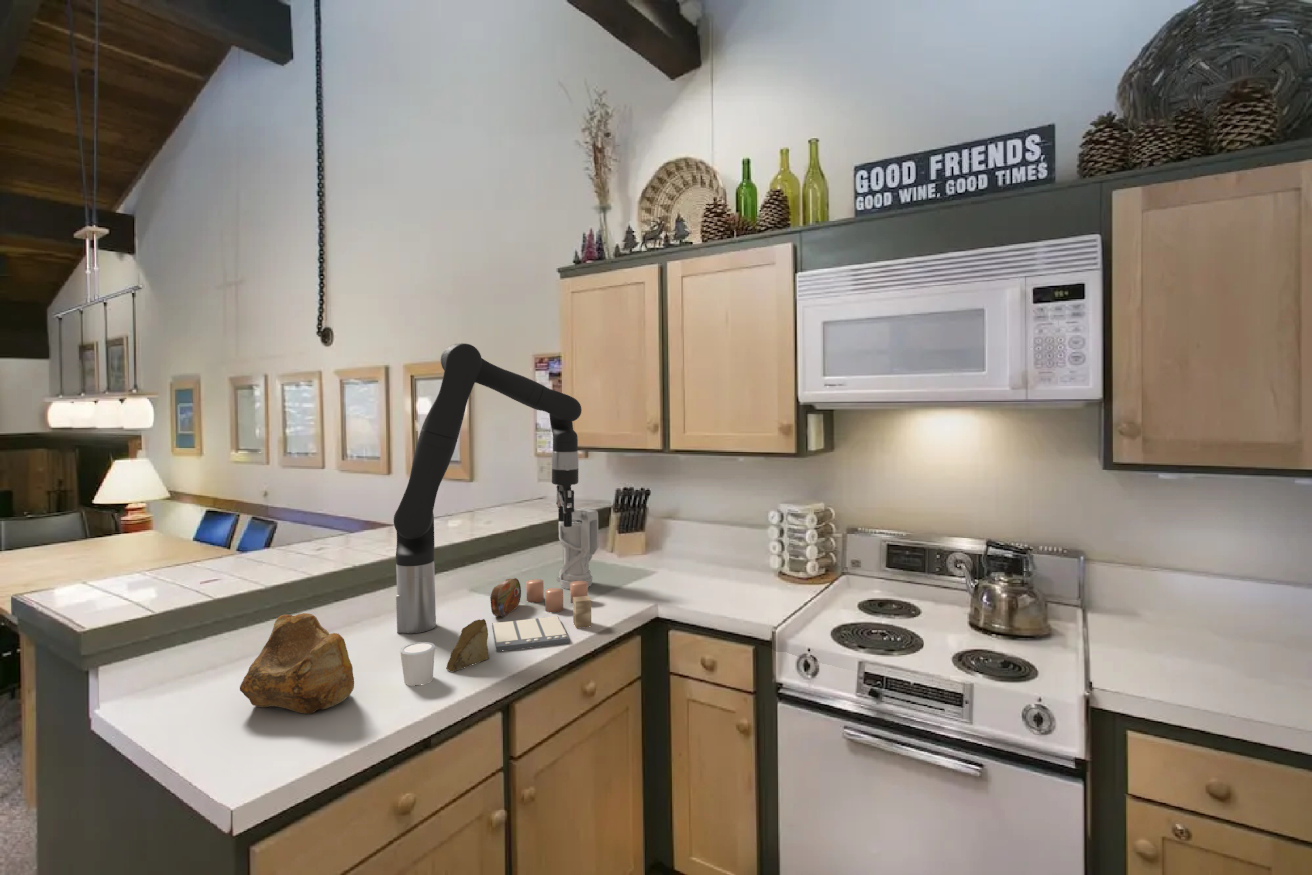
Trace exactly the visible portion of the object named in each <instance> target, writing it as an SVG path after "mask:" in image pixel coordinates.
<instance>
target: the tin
mask: <svg viewBox="0 0 1312 875" xmlns="http://www.w3.org/2000/svg"><path fill="white" fill-rule="evenodd" d="M521 596H522V586H521V583H520V581H519V579H518V578H517V577H513V578H507V579H505V580H503V581H502V582H500V583H499V584H497V585H495V586H494V587H493V589H492V591H491V593H490V609H491V614H492V615H493V616H495V617H503V618H504V617H507V616H508V615H509V614H510V613H512V612H513V611H515V609H517V608H518V607H519V605H520V602H521V598H522V597H521ZM516 607H517V608H516Z"/></svg>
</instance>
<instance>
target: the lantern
mask: <svg viewBox="0 0 1312 875" xmlns="http://www.w3.org/2000/svg"><path fill="white" fill-rule="evenodd" d="M599 538H600V537H599V512H598V508H597V507H593V508H592V507H582V508H574V512H573V513H572V526H571V527H565V526H564V521H563V522H560V521H559V520H558V539H559V543H560V546H562V567H561V568H560V569H559V574H558V575H559V576H558V577H556V581H557V582H558V583H560V588H561V589H564V588H565V590H570V583H571V582H574V581H586V582H587V583H588V588H590V587H592V583H593V575H591V570H590V569H589V566H590V565H589V564H590V562H591V560H592V559H593V555H595V554H596V552H597V551H598V549H599V545H600V544H599V541H600V540H599ZM589 586H590V587H589Z"/></svg>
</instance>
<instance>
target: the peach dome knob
mask: <svg viewBox="0 0 1312 875" xmlns="http://www.w3.org/2000/svg"><path fill="white" fill-rule="evenodd" d="M544 601H545V604H544V605H545V606H544V607H545V608H544V609H545V612H546V613H550V612H556V613H561V612H563V611H564V588H562V587H560V588H559V587H550V588H547V589H545V590H544Z"/></svg>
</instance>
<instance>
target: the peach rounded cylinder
mask: <svg viewBox="0 0 1312 875" xmlns="http://www.w3.org/2000/svg"><path fill="white" fill-rule="evenodd" d="M525 583H526V584H525V585H526V586H525V587H526V602H527V601H528V603H532V602H535V603H540V601H541V602H543V601H544V600H545V590H544V580H543V579H539V578H535V579H529V580H526V581H525ZM543 599H544V600H543Z"/></svg>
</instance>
